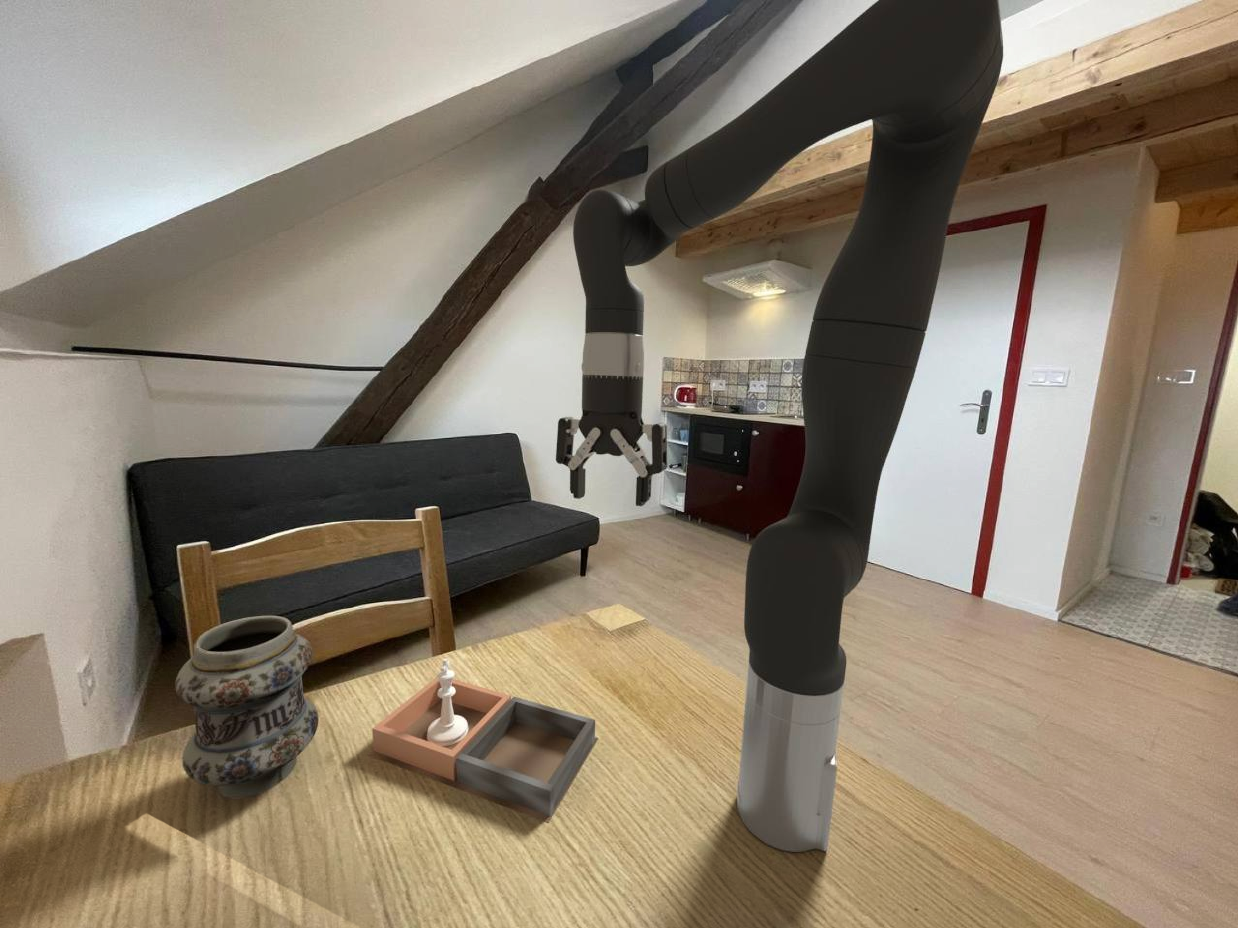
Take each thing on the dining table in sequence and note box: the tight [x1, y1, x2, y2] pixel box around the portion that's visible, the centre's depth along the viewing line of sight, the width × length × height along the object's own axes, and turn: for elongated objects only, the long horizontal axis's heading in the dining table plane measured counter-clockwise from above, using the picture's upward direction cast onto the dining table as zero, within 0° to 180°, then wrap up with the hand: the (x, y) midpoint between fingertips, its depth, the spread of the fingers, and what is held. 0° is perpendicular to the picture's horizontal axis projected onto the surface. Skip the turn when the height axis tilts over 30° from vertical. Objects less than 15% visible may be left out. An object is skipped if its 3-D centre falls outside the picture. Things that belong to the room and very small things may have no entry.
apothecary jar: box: [174, 615, 320, 800], centre depth 55 cm, size 12×12×18 cm
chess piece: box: [427, 658, 468, 746], centre depth 62 cm, size 5×5×10 cm
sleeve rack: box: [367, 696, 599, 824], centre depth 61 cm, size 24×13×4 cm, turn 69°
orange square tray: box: [371, 676, 512, 781], centre depth 63 cm, size 12×12×3 cm
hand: (609, 501), depth 64 cm, fingers open, 8 cm apart
